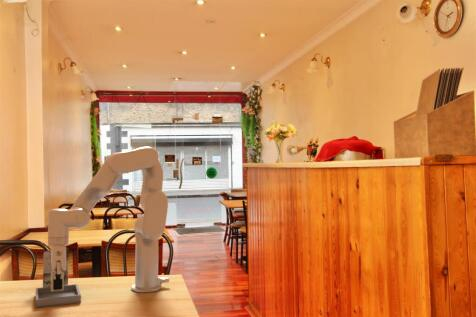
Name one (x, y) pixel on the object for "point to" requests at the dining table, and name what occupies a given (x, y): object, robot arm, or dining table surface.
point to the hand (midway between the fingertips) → (57, 287)
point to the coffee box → (48, 267)
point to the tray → (57, 296)
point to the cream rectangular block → (53, 278)
